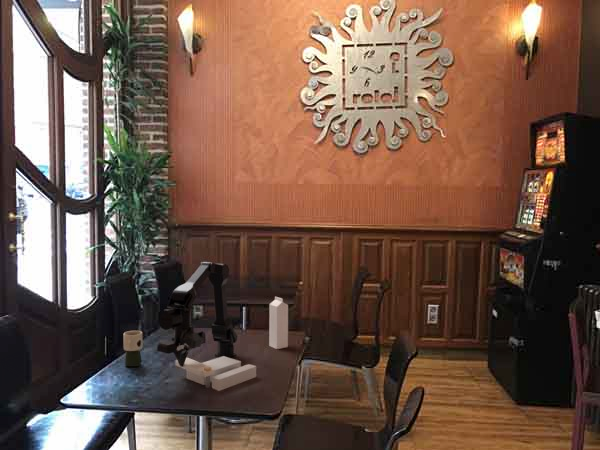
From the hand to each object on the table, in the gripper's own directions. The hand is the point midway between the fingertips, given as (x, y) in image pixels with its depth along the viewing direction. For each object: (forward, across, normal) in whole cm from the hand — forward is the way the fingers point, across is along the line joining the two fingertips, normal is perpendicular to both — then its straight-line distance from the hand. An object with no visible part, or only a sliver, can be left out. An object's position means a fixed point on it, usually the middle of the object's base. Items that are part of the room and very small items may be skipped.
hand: (181, 366), depth 191 cm
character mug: (+6, +1, +28) cm, 28 cm away
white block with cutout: (+5, +11, -10) cm, 15 cm away
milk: (+4, +54, -4) cm, 54 cm away
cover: (+1, +3, -4) cm, 5 cm away
